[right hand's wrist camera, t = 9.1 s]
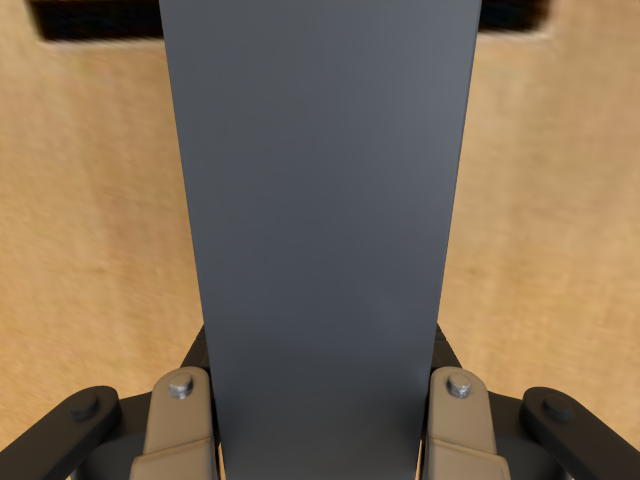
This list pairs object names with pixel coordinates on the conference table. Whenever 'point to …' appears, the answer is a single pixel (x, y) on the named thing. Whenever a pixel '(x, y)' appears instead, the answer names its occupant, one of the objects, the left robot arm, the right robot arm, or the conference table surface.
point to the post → (320, 219)
